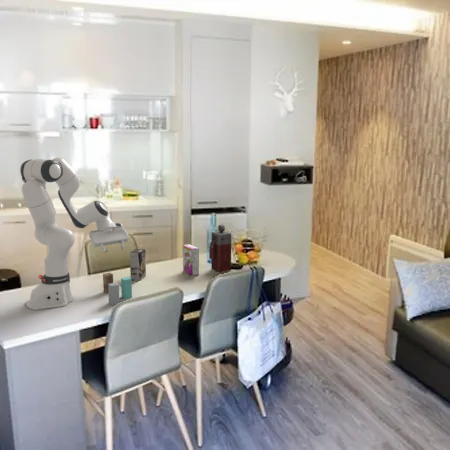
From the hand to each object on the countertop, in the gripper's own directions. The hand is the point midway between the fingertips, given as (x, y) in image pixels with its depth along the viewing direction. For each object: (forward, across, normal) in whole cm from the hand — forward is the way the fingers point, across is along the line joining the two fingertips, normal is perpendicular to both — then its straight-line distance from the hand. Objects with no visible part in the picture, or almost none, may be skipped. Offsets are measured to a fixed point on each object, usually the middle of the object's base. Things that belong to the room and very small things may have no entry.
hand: (114, 250), depth 273 cm
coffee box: (+8, +19, +24) cm, 31 cm away
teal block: (+26, 0, +5) cm, 26 cm away
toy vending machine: (+17, +67, +15) cm, 70 cm away
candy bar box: (+14, +49, +18) cm, 54 cm away
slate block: (+29, -10, +2) cm, 31 cm away
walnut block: (+17, -5, +14) cm, 22 cm away
